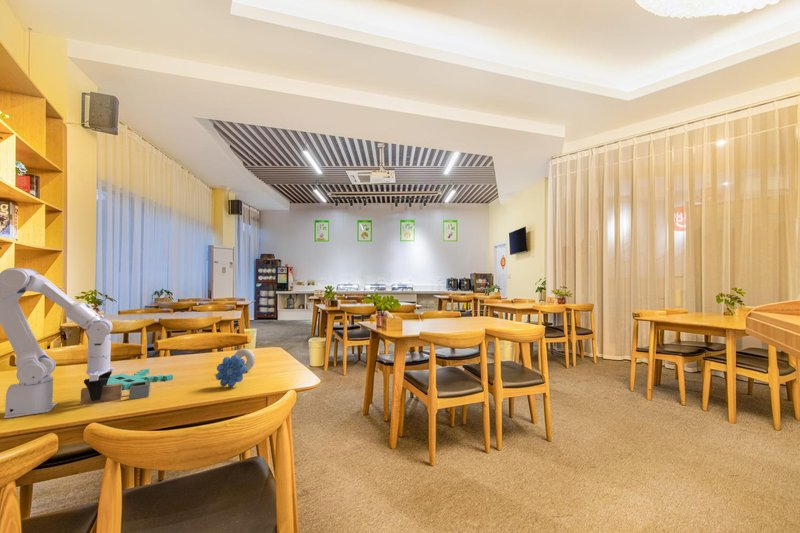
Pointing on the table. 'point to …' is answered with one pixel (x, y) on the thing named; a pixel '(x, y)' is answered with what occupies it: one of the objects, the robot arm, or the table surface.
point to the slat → (103, 394)
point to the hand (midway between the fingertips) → (97, 397)
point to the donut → (248, 355)
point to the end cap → (139, 390)
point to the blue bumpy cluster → (231, 371)
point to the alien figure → (136, 378)
